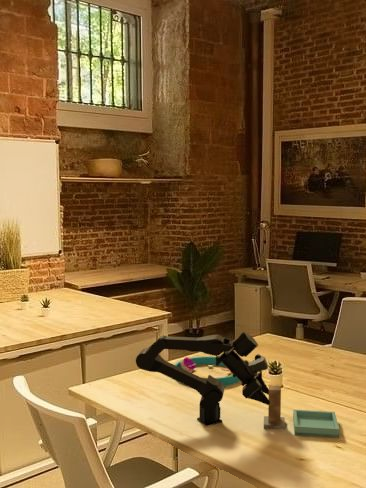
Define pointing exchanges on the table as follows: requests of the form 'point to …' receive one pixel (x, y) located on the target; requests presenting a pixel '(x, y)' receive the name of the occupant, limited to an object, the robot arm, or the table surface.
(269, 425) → the handle post
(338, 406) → the table surface
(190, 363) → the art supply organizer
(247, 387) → the robot arm
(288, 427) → the table surface
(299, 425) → the tray
